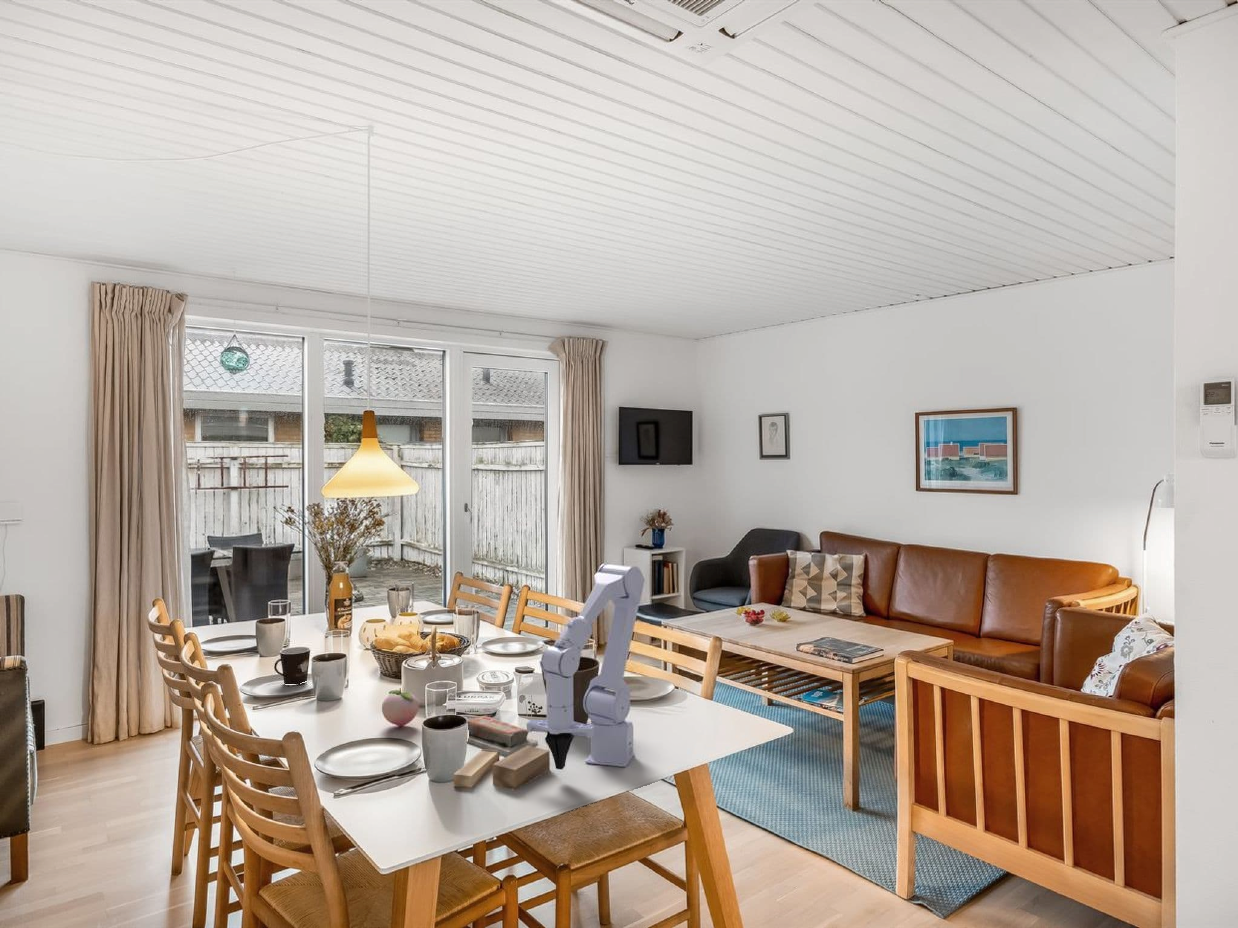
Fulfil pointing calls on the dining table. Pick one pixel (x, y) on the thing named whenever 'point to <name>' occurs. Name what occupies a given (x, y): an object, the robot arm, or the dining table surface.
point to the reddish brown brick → (498, 735)
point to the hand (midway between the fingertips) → (560, 767)
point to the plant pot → (581, 686)
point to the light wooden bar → (476, 768)
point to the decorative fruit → (400, 707)
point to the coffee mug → (294, 664)
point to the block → (521, 767)
